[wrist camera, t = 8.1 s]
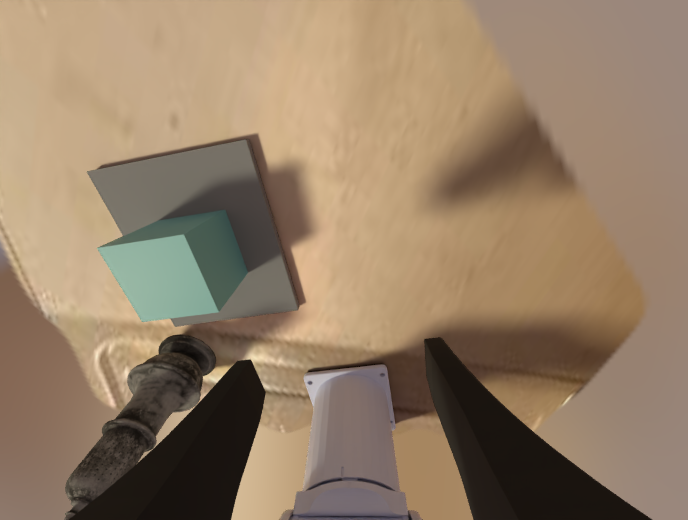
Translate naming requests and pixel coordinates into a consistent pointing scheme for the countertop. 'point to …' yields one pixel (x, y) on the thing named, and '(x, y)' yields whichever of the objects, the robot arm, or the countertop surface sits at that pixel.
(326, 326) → the countertop surface
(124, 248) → the teal cube
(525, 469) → the robot arm
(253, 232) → the charcoal mat
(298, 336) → the countertop surface
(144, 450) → the dark grey chess piece
